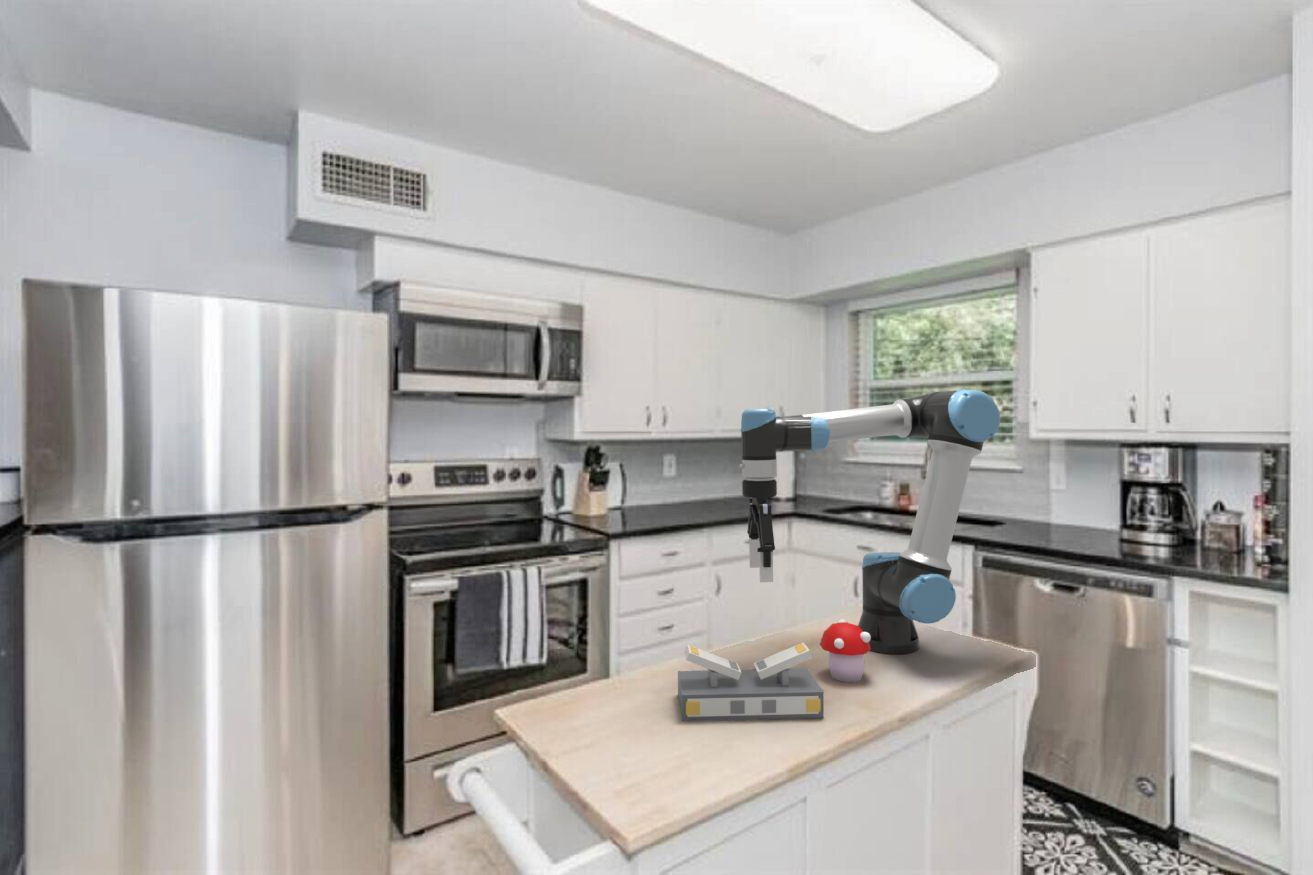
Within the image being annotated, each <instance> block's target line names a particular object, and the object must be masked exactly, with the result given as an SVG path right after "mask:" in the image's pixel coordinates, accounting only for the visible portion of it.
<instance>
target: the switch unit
mask: <svg viewBox="0 0 1313 875" xmlns="http://www.w3.org/2000/svg"><path fill="white" fill-rule="evenodd" d="M740 670H741V672H742V673H741V675H740V678H739V680H737V679H734V678H731V677H729V676H726V675H724V674H721V673H718V672H716V671H713V670H710V669H708V668H707V670H678V671H677V696H678V703H679V710H680V716H681V721H682V722H707V721H710V722H711V721H712V722H713V721H746V720H748V721H750V720H754V721H755V720H791V719H793V720H794V719H795V720H796V719H799V720H800V719H824V714H825V713H824V711H825V710H824V709H825V708H824V698H825V697H824V691H823V689H822V688H821V686H820V685H819V684H818V681H817V680H816V679H815V677H814V676H813V675H812V673H811V672H810V670H809V669H808V668H805V667H804V668H787V669H785V670H783V671H780V672H778V673H776V674H773V675H771V676H768V677H766V678H764V679H760V677H759V675H758V673H757V670H756V668H754V669H740Z"/></svg>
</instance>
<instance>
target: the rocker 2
mask: <svg viewBox="0 0 1313 875" xmlns="http://www.w3.org/2000/svg"><path fill="white" fill-rule="evenodd" d="M811 659H813V655H812V653H811V651H810V649H809V647H808V646H807V645H806V643H805V642H804V641H803V642H800V643H798V644H796V645H794V646H790V647H788V648H786V649H784V650H782V651H779V652H776V653H774V654H771V655H770V656H769V655H768V656H767V657H765V658H762V659H760V660H758V661H756V662H753V666H754V667H755V668H754V669H756V670H757V673H758V675H759V677H760V679H764V678H766V677H768V676H771V675H773V674H776V673H778V672H780V671H783V670H785V669H791V668H792V667H795V666H796V665H799V664H802V663H804V662H806V661H809V660H811Z"/></svg>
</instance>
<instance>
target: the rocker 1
mask: <svg viewBox="0 0 1313 875" xmlns="http://www.w3.org/2000/svg"><path fill="white" fill-rule="evenodd" d="M684 656H685V657H684V658H685V660H686V661H688V662H690V663H692V664H695V665H697V666H700V667H703V668H705V669H707V670H708V669H710V670H713V671H716V672H718V673H721V674H724V675H726V676H729V677H731V678H734V679H737V680H739V678H740V675H741V673H742V672H741V670H742V669H741V667H740V666H739V663H738V662H735V661H732V660H729V659H727V658H724V657H722V656H719V655H717V654H714V653H712V652H708V651H706V650H704V649H701V648H698V647H695V646H693V645H691V644H686V647H685V649H684Z"/></svg>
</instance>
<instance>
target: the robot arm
mask: <svg viewBox="0 0 1313 875" xmlns="http://www.w3.org/2000/svg"><path fill="white" fill-rule="evenodd" d="M1000 422H1001V414H1000V410H999V408H998V405H997V404H996V403H995V401H994V399H993V398H992V397H991V396H990V395H989V394H987V393H986V392H983V391H982V390H975V389H968V388H964V389H958V390H947V391H945V390H944V391H934V392H929V393H926V394H922V395H918V396H914V397H909V398H903V399H896V400H895V401H894V402H893V403H892V404H886V405H885V404H884V405H877V406H876V405H875V406H866V407H859V408H850V409H841V410H833V411H832V410H831V411H823V412H814V413H804V414H798V415H788V416H787V415H786V416H779V415H778V416H777V414H776V409H774V408H752V409H750V408H749V409H745V410H743V411H742V414H741V420H740V424H741V425H740V432H741V433H740V434H741V435H740V436H741V463H740V464H739V469H742V470H741V472H742V473H741V475H742V478H744V479H743V480H742V483H741V485H742V486H741V487H742V490H741V492H742V496H743V497H745V498H748V502H749V503H748V504H749V505H748V506H749V508H748V518H747V519H748V520H747V521H748V523H747V535H748V537H749V539H748V541H749V542H748V544H749V546H748V548H749V549H748V550H749V555H748V556H749V568H750V569H751V568H752V569H753V568H754V569H755V568H756V569H757V568H758V569H759V582H760V583H774V559H773V558H774V557H773V556H774V552H773V551H775V550H776V546H775V536H774V528H773V518H772V504H771V503H768V498H774V497H777V494H778V490H777V489H778V488H777V486H778V485H777V480H776V479H775V478H776V477H777V474H778V473H777V472H778V471H777V470H778V469H777V466H778V465H777V461H778V460H777V452H783V451H784V452H790V451H791V452H792V451H793V452H794V451H797V452H798V451H799V452H800V451H812V452H814V451H819V450H825V449H826V448H827V447H828V445H829V443H833V442H835V443H837V442H844V441H852V440H853V441H854V440H861V439H871V438H879V437H887V436H896V437H898V438H902V439H905V438H927V443H928V445H929V446H930V447H931V450H932V452H931V455H930V458H929V463H928V467H927V471H926V475H925V479H924V482H923V488H922V491H921V495H920V499H919V503H918V507H917V511H916V514H915V520H914V523H913V527H912V531H911V536H910V540H909V543H908V546H907V549H906V550H904V551H902V552H900V551H899V552H897V551H896V552H895V551H890V552H889V551H888V552H887V551H885V552H884V551H883V552H880V551H879V552H870V553H866V554H865V555H864V556H863V557H862V566H861V569H862V571H861V572H862V612H861V615H860V618H859V621H858V624H857V626H859V627H860V629H861V630H862V631H863V632H868V633H869V634H870V636H871V639H870V641H869V644H870V648H871V650H870V651H872V652H875V653H876V652H877V653H881V654H882V653H883V654H890V655H891V654H892V655H893V654H895V655H897V654H898V655H902V654H910V653H914V652H916V651H918V650H919V648H920V638H919V637H920V636H919V634H918V631H917V629H916V625H915V622H918V623H920V624H926V625H927V624H934V623H938V622H940V621H941V620H943V619H945V618H946V617H948V616H949V614H950V613H951V612H952V610H953V608H954V607H955V603H956V598H957V597H956V596H957V594H956V590H955V588H954V584H953V582H951V581H950V578H951V575H952V570H953V568H952V566H951V565H950V563H949V562H948V556H949V552H950V549H951V544H952V540H953V536H954V531H955V528H956V523H957V520H958V516H959V512H960V508H961V504H962V500H963V496H964V493H965V490H966V489H965V488H966V485H967V480H968V477H969V471H970V470H971V469H970V468H971V463H972V460H973V459H974V458H975V457H976V456H978V455H980V454H981V453H982V450H983V446H984V442H986V441H987V440H989V439H990V438H992V437H993V436H995V434H996V433H997V432H998V429H999V427H1000ZM914 621H915V622H914Z"/></svg>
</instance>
